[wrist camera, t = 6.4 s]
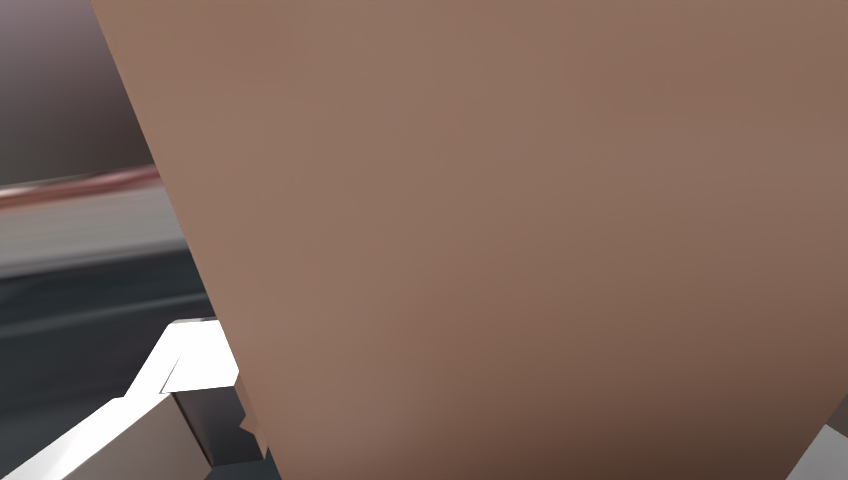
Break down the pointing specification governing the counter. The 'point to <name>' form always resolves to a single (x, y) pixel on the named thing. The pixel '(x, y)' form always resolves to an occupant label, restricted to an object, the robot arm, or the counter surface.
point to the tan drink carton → (511, 226)
